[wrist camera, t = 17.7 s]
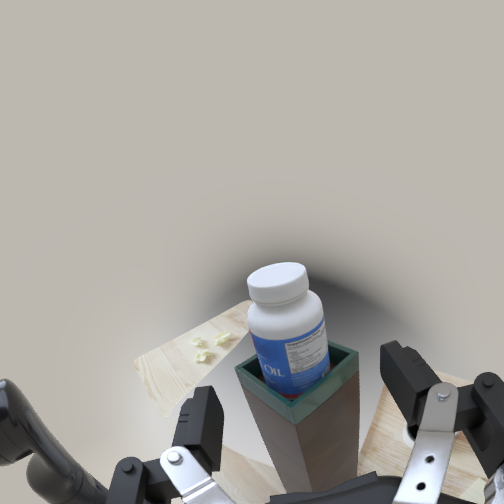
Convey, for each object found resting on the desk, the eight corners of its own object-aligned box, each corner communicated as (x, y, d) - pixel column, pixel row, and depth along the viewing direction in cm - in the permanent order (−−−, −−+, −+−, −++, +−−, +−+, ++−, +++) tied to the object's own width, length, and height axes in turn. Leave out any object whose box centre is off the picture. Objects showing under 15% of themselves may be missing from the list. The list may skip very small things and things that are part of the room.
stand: (320, 520, 24) (295, 425, 17) (288, 495, 29) (240, 383, 22) (355, 489, 27) (359, 369, 20) (322, 468, 33) (300, 344, 26)
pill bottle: (257, 376, 23) (226, 275, 20) (309, 351, 25) (290, 252, 22) (284, 413, 18) (252, 300, 15) (344, 381, 19) (332, 267, 17)
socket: (295, 425, 17) (290, 408, 16) (240, 383, 22) (233, 367, 22) (359, 369, 20) (358, 351, 20) (300, 344, 26) (296, 327, 26)
